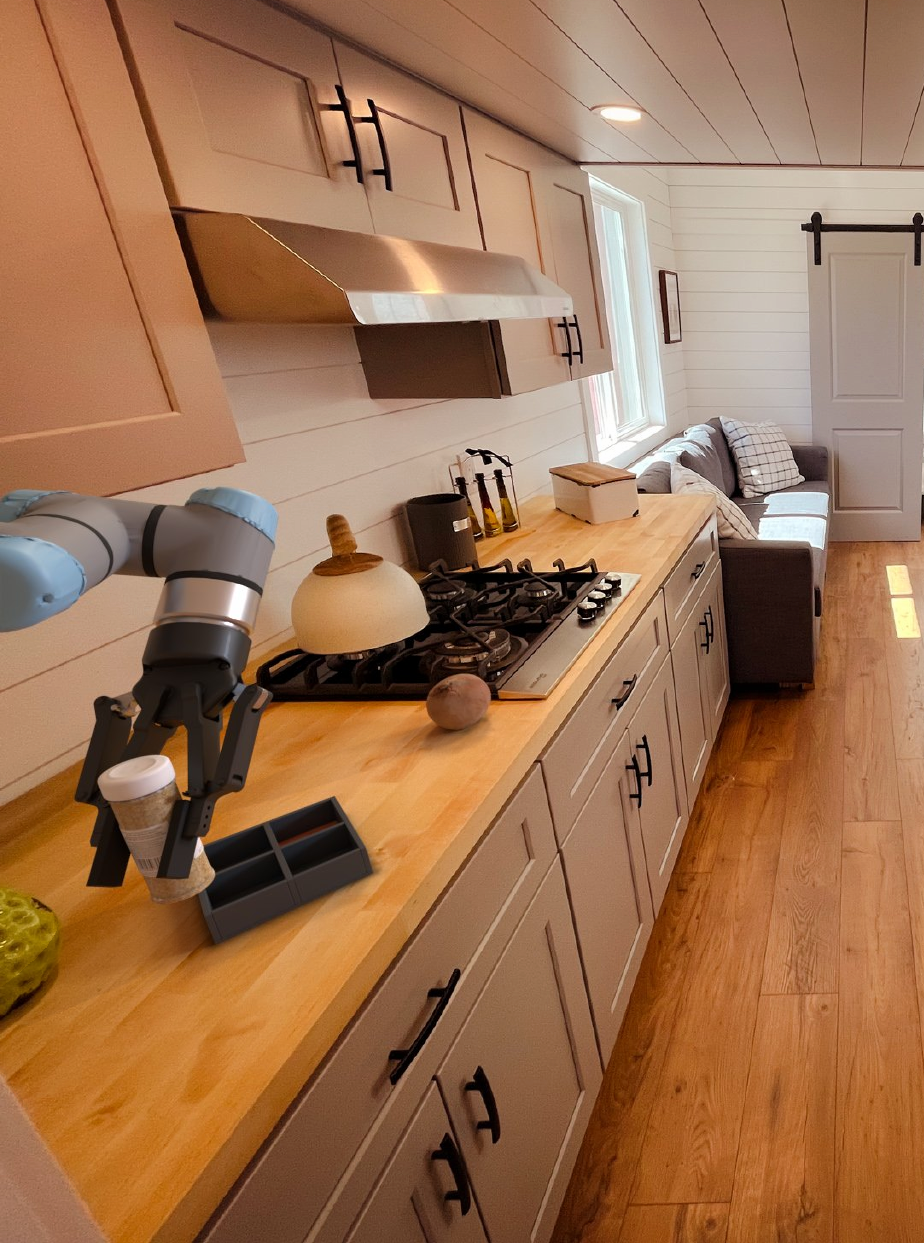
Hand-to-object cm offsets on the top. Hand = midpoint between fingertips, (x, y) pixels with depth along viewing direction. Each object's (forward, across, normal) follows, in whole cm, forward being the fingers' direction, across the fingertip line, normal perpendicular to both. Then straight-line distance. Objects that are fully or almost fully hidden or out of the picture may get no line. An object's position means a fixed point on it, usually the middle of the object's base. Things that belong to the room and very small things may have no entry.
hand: (138, 881), depth 61 cm
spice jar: (0, 0, -6) cm, 6 cm away
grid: (-2, +4, -28) cm, 29 cm away
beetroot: (-26, -6, -53) cm, 59 cm away
